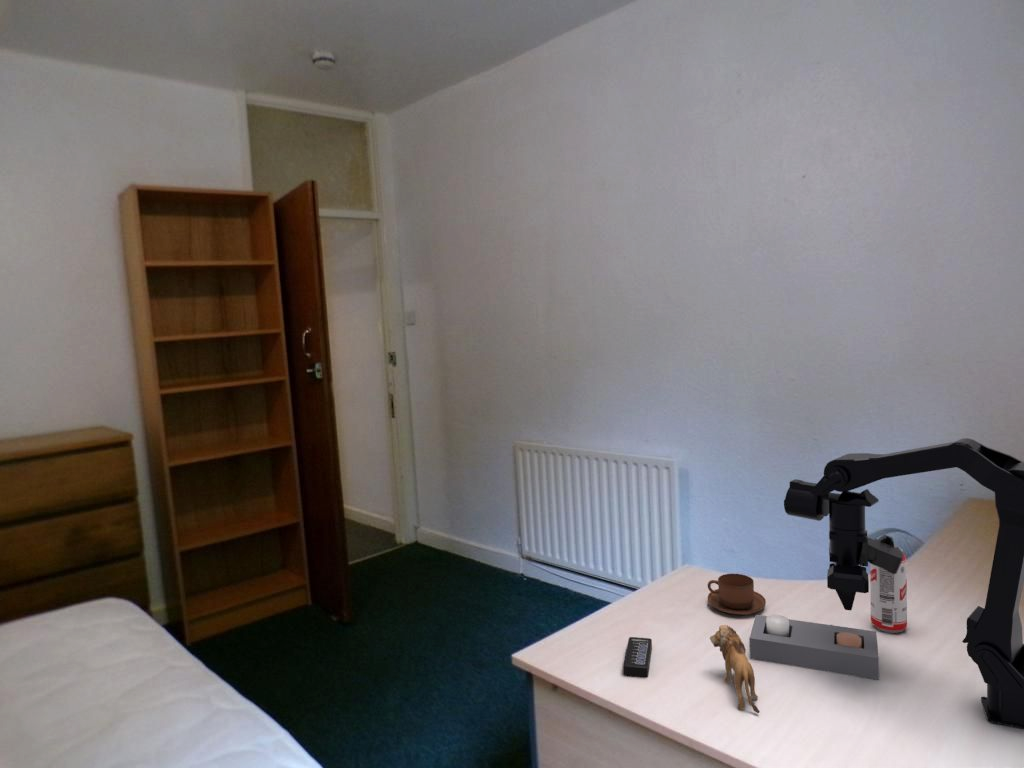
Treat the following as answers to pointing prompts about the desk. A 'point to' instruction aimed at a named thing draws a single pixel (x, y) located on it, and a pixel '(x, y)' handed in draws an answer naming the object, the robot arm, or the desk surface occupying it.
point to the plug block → (816, 648)
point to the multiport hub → (637, 657)
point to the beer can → (889, 598)
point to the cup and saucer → (735, 595)
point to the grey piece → (777, 625)
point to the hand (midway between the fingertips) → (848, 609)
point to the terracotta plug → (849, 640)
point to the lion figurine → (736, 663)
